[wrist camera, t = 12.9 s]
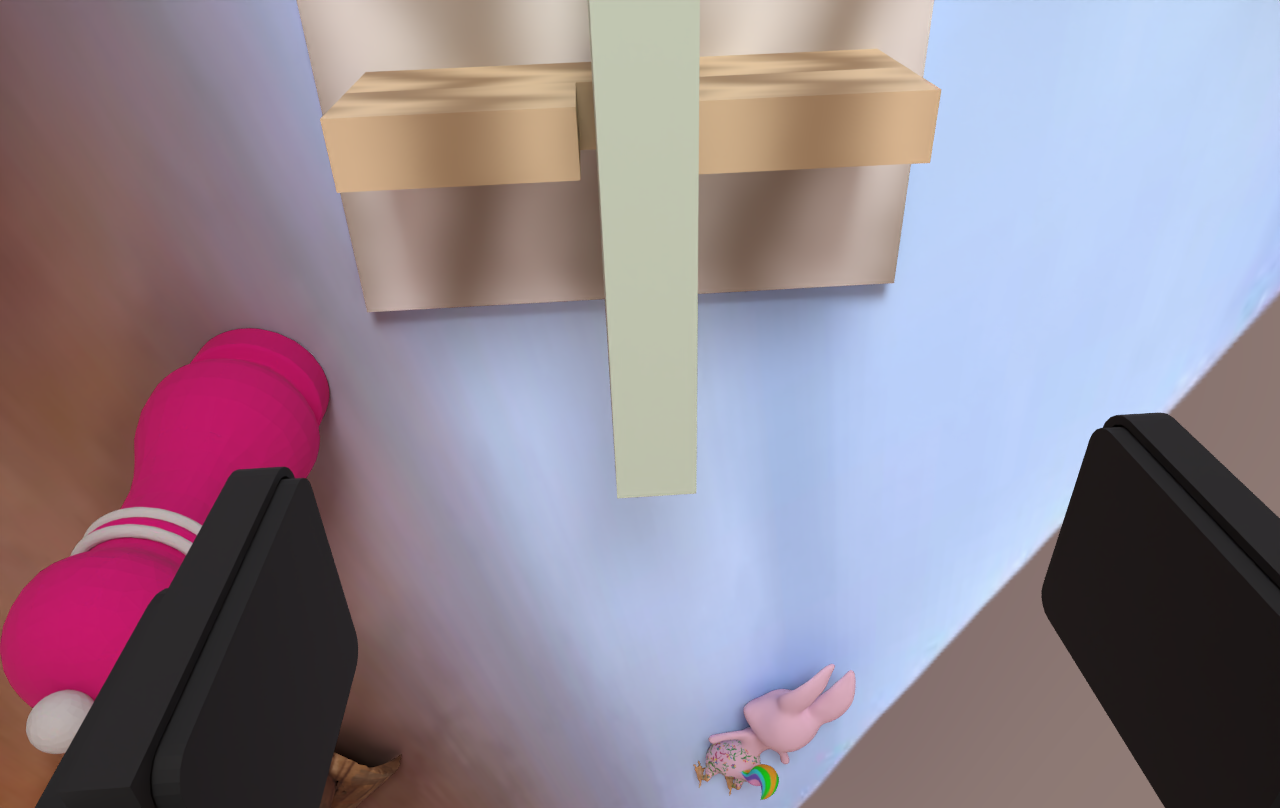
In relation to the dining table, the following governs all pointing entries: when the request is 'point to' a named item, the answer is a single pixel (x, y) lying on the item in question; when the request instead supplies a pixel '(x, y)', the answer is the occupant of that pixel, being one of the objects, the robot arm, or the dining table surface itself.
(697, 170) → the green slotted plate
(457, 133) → the oak plate stand
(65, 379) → the dining table surface
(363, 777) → the bird sculpture
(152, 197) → the dining table surface
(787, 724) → the rabbit figure
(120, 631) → the pepper mill
